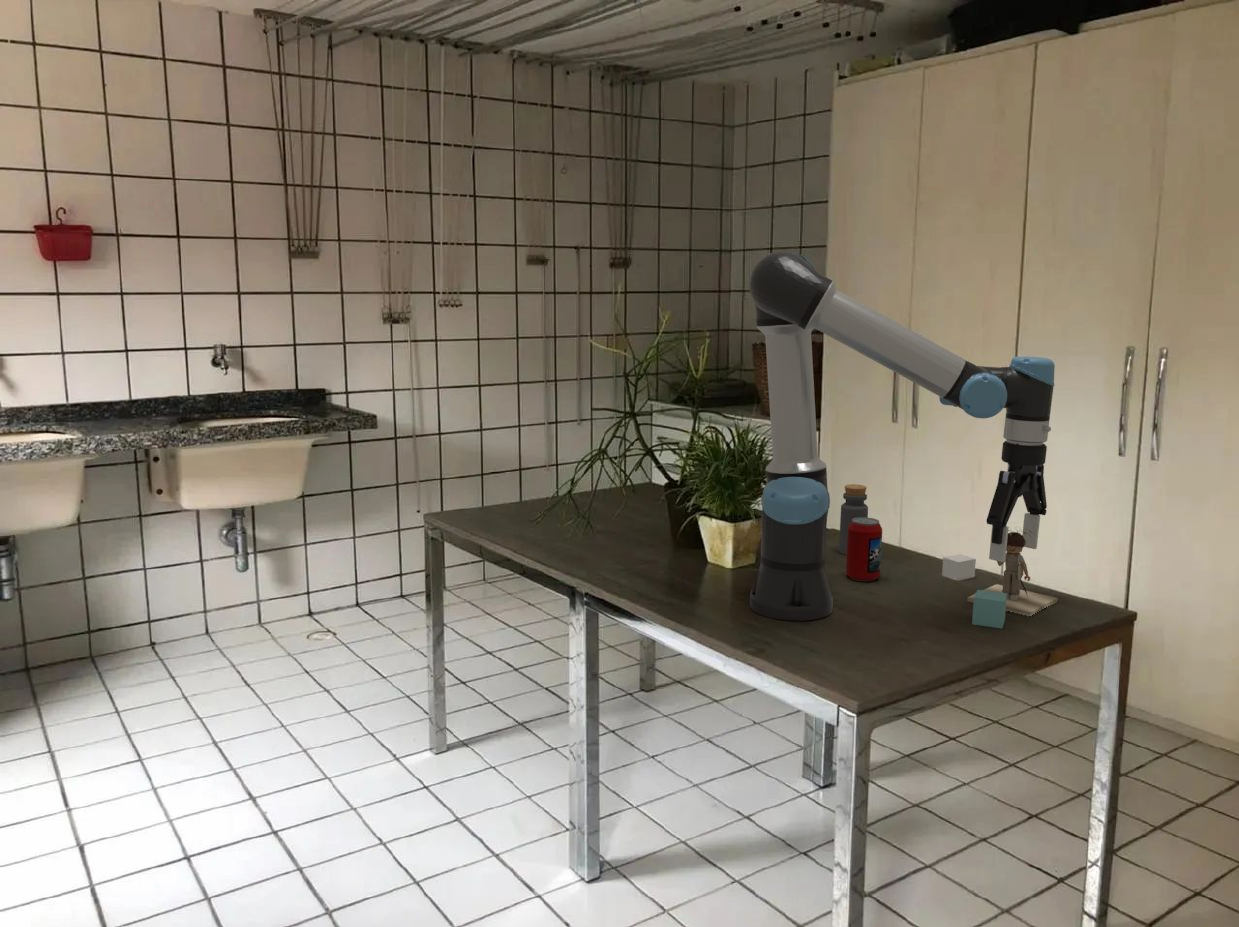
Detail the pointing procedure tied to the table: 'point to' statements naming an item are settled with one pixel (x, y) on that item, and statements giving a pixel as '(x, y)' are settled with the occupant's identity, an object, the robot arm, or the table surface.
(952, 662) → the table surface
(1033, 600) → the board
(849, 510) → the bottle
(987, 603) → the teal block
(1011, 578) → the toy
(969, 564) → the white block
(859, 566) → the beverage can
